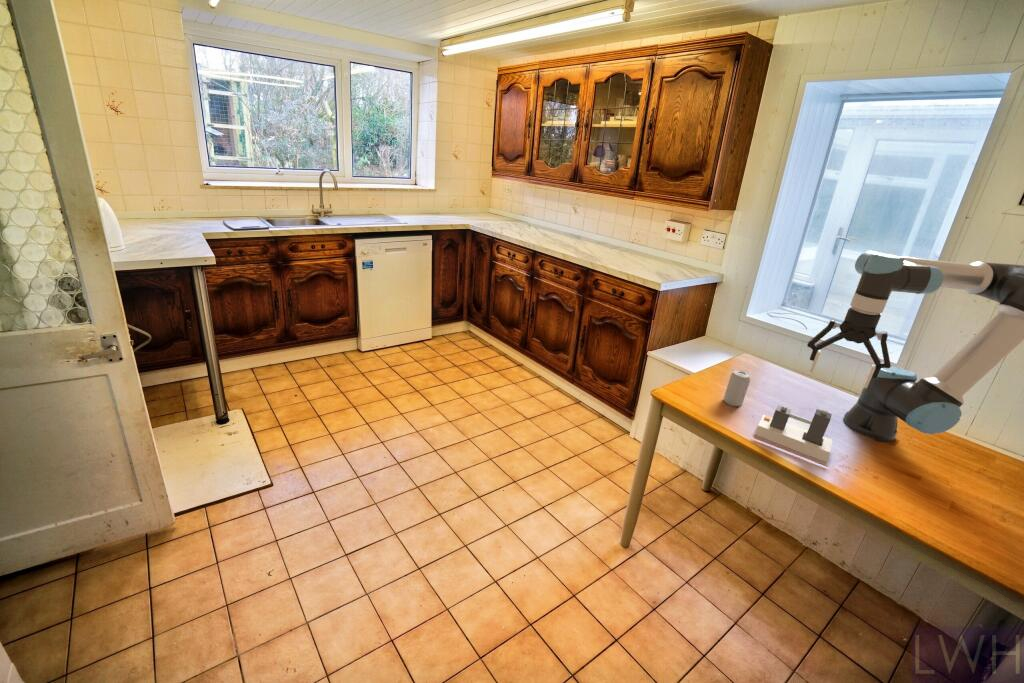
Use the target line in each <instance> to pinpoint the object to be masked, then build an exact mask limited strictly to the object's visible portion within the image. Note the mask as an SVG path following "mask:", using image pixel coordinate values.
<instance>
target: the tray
mask: <svg viewBox="0 0 1024 683" xmlns="http://www.w3.org/2000/svg"><path fill="white" fill-rule="evenodd" d="M811 422H812V420H811V419H808V418H805V417H803V416H799V415H797V414H793V413H792V412H791V413H790V416H789V418H788V421H787V423H788V424H791V425H794V426H796V427H799V428H802V429H805V430H807V431H808V429H809V427H810V424H811Z"/></svg>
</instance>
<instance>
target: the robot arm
mask: <svg viewBox="0 0 1024 683" xmlns="http://www.w3.org/2000/svg"><path fill="white" fill-rule="evenodd" d="M854 269H855V272H857V273H858V274H859V275H860V278H859V281H858V284H857V288H856V289H855V291H854V294H853V297H852V300H851V301H850V307H849V308H848V310H847V311H846V314H845V317H844V320H843V321H842V322H839V321H836V320H835V319H830V320H829V322H828V324H827V325H826V326H825V327H824V328H823V329H822V330H821V331H819V332H818V333H817V334H816V335H815V336H813V337H812V338H811V339H810V340H809V341H808V342H807V345H806V346H807V348H809V349H812V352H811V354H810V356H809V360H810V361H812V363H811V367H810V369H809V372H810V373H814V369H815V367H816V365H817V362H818V359H819V357H820V353H821V351H822V349H824V348H827V347H828V346H830V345H832V344H834V343H836V342H838V341H841V340H843V339H844V340H846V341H847V342H854V343H855V344H857V345H858V344H863V345H864V347H865V348H866V350H867V352H868V354H869V355H870V356H869V357H870V358H871V360H872V361H873V363H874V364H873V363H872V365H871V367H870V369H869V372H868V374H867V375H866V379H865V381H864V383H863V387H862V390H861V392H860V395H859V397H858V400H856V403H855V404H854V405H852V407H851V408H850V409H849V410H848V411H846V413H845V414H844V416H843V418H842V421H843V423H844V425H845V426H847V427H848V428H850V429H851V430H853V431H854V432H855V433H858V434H861V435H862V436H865V437H867V438H871V439H874V441H880V442H892V441H894V440H895V439H896V437H897V434H898V419H900V420H902V421H903V422H905V423H906V425H907V426H909V427H910V428H912V429H915V430H917V431H918V432H920V433H923V434H926V435H927V434H928V435H935V434H942V433H945V432H946V431H949V430H950V429H952V428H954V427H955V426H956V425H957V424H958V423H959V422H960V420H961V417H962V409H961V407H962V406H963V405H964V395H965V394H967V393H968V392H969V391H970V390H971V388H973V387H974V386H975V385H976V384H977V383H978V382H980V381H981V380H982V379H983V378H984V377H985V376H986V375H987V374H988V373H989V372H990V371H991V370H993V369H994V368H995V367H997V365H998V364H999V363H1000V362H1001V361H1002V360H1003V359H1005V357H1007V356H1008V355H1009V354H1010V353H1011V352H1012V351H1014V349H1015V348H1017V347H1019V345H1020V344H1021V343H1022V342H1023V341H1024V265H1022V264H1012V263H1011V264H1010V263H999V262H998V263H997V262H984V261H974V262H972V263H962V262H954V261H946V260H936V259H928V258H921V257H912V256H904V255H903V256H902V255H894V254H889V253H884V252H880V251H876V250H867V251H864V252H863V253H861V254H860V255H859V256H858V257H857V258H856V260H855V263H854ZM940 288H947V289H956V290H961V291H962V292H964V293H965V294H969V295H975V296H979V297H982V298H985V299H988V300H991V301H993V302H996V303H999V304H997V309H998V310H997V311H998V312H997V314H996V315H995V316H994V317H993V318H991V320H989V321H988V322H987V323H986V324H985V326H983V327H982V328H981V329H980V330H979V331H978V332H977V333H976V334H975V335H974V336H973V337H972V338H971V339H970V340H969V341H968V342H967V343H965V345H963V346H962V347H961V348H960V350H959V349H958V351H957V352H956V353H955V354H954V355H953V356H952V357H951V358H950V359H949V360H948V361H946V362H945V363H944V364H943V366H941V367H940V368H939V369H938V370H937V371H936V372H935V373H934V374H933V375H932V376H929V377H928V376H927V377H922V378H920V379H919V380H918V375H917V374H916V373H915V372H913V371H910V370H908V369H904V368H901V367H897V366H891V361H890V360H891V359H890V356H889V355H890V354H889V349H888V343H887V341H888V340H887V339H888V331H876V329H877V326H878V324H879V321H880V319H881V317H882V315H881V313H882V314H883V312H884V310H885V307H886V305H887V302H888V300H889V299H890V296H891V293H892V292H895V293H896V292H897V293H907V294H916V295H921V294H923V295H926V294H933V293H935V292H936V291H937V290H939V289H940ZM836 328H839V330H840V332H837V334H835V335H833V336H831V337H829V338H827V339H825V340H823V341H820V340H821V339H822V338H824V337H825V336H826V335H827V334H828V333H830V331H832V329H833V330H836ZM874 337H877V340H878V341H880V347H881V353H882V359H883V361H881V360H880V357H879V356H878V354H877V352H876V350H875V348H874V347H873V345H872V342H871V340H870V339H872V338H874ZM819 341H820V342H819ZM818 342H819V343H818ZM917 380H918V381H917Z"/></svg>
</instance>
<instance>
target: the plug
mask: <svg viewBox="0 0 1024 683" xmlns="http://www.w3.org/2000/svg"><path fill="white" fill-rule="evenodd" d="M832 415H833V414H832V413H830V412H829V411H828V410H826V409H819V408H816V410H815V413H814V415H813V417H812V420H811V421H812V422H811V424H810V427H809V429H808V432H807V434H806V437H805V439H804V440H806V441H808V442H811V443H814V444H816V445H820V443H821V441H822V438H823V436H824V437H825V433H826V432H827V429H828V427H829V424H830V422H831V420H832V419H831V418H832Z"/></svg>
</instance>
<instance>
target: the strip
mask: <svg viewBox="0 0 1024 683" xmlns="http://www.w3.org/2000/svg"><path fill="white" fill-rule="evenodd" d="M790 413H791V414H792V409H791V408H790V409H789V408H788V406H785V405H777V406H776V408H775V410H774V413H773V417H772V416H770V415H768V414H763V415H762V417H761V419H760V421H759V423H758V425H757V427H756V430H755V433H754V435H755V436H757V437H760V438H763V439H765V440H767V441H768V440H769V441H770V442H773V443H775V444H779V445H781V446H784V447H786V448H788V449H790V450H791V449H792V450H794V451H797V452H799V453H802V454H804V455H806V456H809V457H813V458H815V459H816V460H820V461H822V462H825V463H827V460H828V458H829V456H830V454H831V451H832V446H833V445H832V444H833V439H832V438H829V437H826V436H825V435H824V436H823V438H822V441H821V443H820V445H816V444H814V443H811V442H808V441H806V440H804V439H805V437H806V434H807V432H808V431H807V430H805V429H802V428H799V427H796V426H794V425H791V424H788V423H787V421H788V418H789V416H790Z"/></svg>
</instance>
